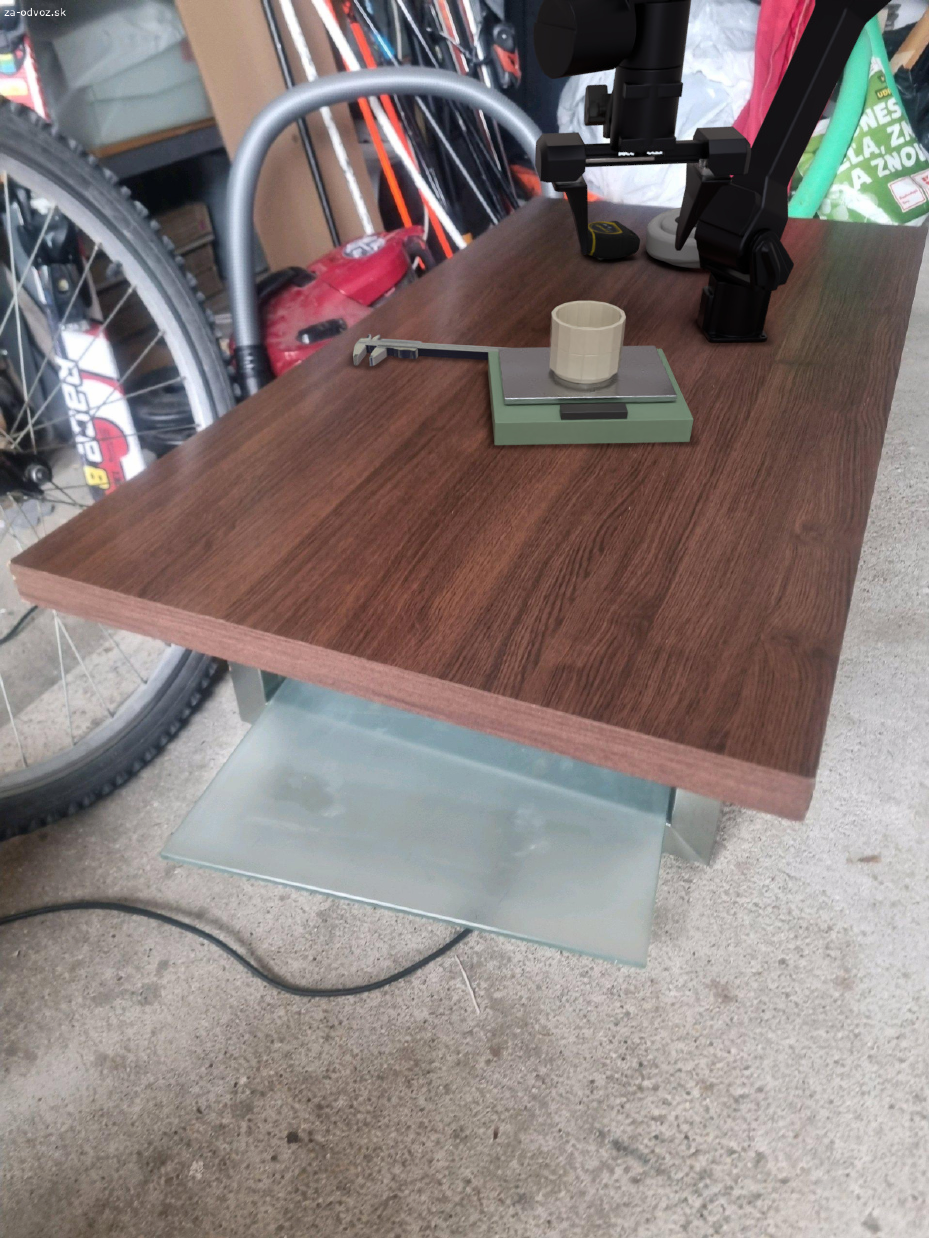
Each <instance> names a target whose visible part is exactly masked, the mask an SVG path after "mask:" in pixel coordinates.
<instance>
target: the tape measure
mask: <svg viewBox="0 0 929 1238" xmlns="http://www.w3.org/2000/svg"><path fill="white" fill-rule="evenodd" d="M640 245H641V237H639V235H638V234H637V233H636V232H634V231H633V230H632V229H630V228H629V227H627V226H626V225H624V224H622V223H621V222H619V221H618V220H609V221H602V220H601V221H593V222H592V221H591V222H590V223H588V247H587V254H586V255H588V256H591V257H593V258H596V259H598V260H599V261H601V260H616V259H620V258H623V257H624V258H625V257H629V256H632V255H634V254H636V253H638V252H639V250H640Z"/></svg>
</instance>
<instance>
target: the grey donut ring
mask: <svg viewBox="0 0 929 1238" xmlns="http://www.w3.org/2000/svg"><path fill="white" fill-rule="evenodd" d="M680 210H681V206H680V207H676V208H671V209H669V210H667V211H664V212H661V213H660V214H658V215H656V216H655V217H653V218H652V219H651V220H650V221H649V222H648V224H647V227H646V234H645V235H646V236H645V250H646V253H647V254H648V256H650V257H651V258H653V259H656V260H657V261H661V262H665V263H667V264H670V265H672V266H676V267H680V268H689V269H701V268H700V263H699V254H698V250H697V245H696V240H695V239H694V235H695V230H696V227H697V224H698V222H699V220H698V221H697V223H696V225H695V226H694V228H693V230H692V232H691V234H690V235H689V237H688V239H687V241H686V242H685V244H684V246H683V248H682V249H681V251H677V250H676V249H675V238H676V229H677V224H678V220H679V215H680Z"/></svg>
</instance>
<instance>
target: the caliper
mask: <svg viewBox="0 0 929 1238" xmlns="http://www.w3.org/2000/svg"><path fill="white" fill-rule="evenodd" d="M499 348H506V347H505V346H504V347H503V346H501V347H500V346H488V345H487V346H486V345H470V344H469V345H466V344H451V343H449V344H448V343H433V342H432V343H431V342H423V341H422V340H410V339H395V338H394V339H392V338H381V334H377V335H376V336H375V335H374V337H372V335H371V333H368V335H367V336H366V337H360V338H359V340H358V341H357V342H356V343H355V344H354V347H353V354H352V359H353V366H356V367H357V366H359V365H360V364H361V362H362V361H363V360H364V358H365V357H366V355H368V354H370V356H369V360H368V361H369V367H373V366H377V365H378V364H379V363H380V362H381V361H383V360H385V358H388V357H394V358H400V359H412V360H417V359H418V358H419V357H428V358H443V359H444V358H445V359H460V360H463V359H464V360H478V361H479V360H481V361H488V352H498V350H499Z"/></svg>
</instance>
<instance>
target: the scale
mask: <svg viewBox="0 0 929 1238" xmlns="http://www.w3.org/2000/svg"><path fill="white" fill-rule="evenodd" d="M656 349H657V351H658V353H659V356H660V358H661V360H662V362H663V365H664V367H665V369H666V372H667V374H668V376H669V378H670V381H671V383H672V385H673V388H674V390H675V392H676V394H677V400H676V401H660V402H601V403H543V404H504V397H503V388H502V380H501V371H500V362H499V354H498V352H488V360H487V376H488V387H489V388H488V390H489V398H490V399H489V400H490V410H491V422H492V431H493V442H494V443H493V444H494V446H518V445H519V446H523V445H524V446H525V445H526V446H527V445H531V446H532V445H581V444H584V445H586V444H587V445H588V444H636V443H637V444H639V443H641V444H642V443H643V444H644V443H645V444H646V443H689V442H690V441H691V435H692V430H693V424H694V417H693V415H692V412H691V411H690V408H689V406H688V404H687V401H686V399H685V397H684V394H683V393H682V391H681V389H680V386H679V384H678V381H677V380H676V377H675V375H674V372H673V370H672V368H671V366H670V364H669V362H668V360H667V359H668V358H667V357H666V355H665V353H664V350H663V349H662V348H656Z"/></svg>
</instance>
